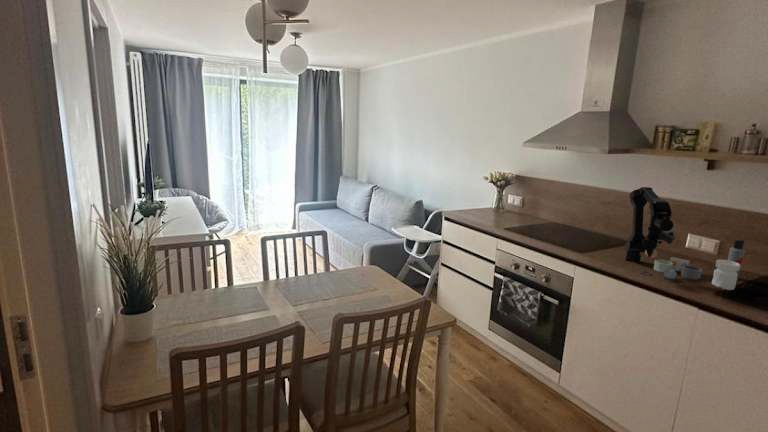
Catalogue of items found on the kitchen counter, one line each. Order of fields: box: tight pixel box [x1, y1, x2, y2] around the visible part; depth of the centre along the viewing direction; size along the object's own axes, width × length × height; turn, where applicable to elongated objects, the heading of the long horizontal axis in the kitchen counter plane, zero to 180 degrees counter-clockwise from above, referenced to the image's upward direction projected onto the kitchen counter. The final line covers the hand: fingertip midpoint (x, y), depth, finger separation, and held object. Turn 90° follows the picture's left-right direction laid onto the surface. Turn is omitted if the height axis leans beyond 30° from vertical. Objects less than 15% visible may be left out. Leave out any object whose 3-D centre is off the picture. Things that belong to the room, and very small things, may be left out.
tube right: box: [680, 264, 703, 280], centre depth 205 cm, size 8×8×5 cm
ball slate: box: [663, 269, 677, 279], centre depth 201 cm, size 5×5×5 cm
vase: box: [711, 259, 740, 291], centre depth 194 cm, size 9×9×12 cm
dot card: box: [669, 256, 690, 273], centre depth 212 cm, size 8×1×7 cm, turn 47°
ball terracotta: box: [644, 248, 658, 259], centre depth 206 cm, size 5×5×5 cm
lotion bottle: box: [727, 238, 746, 280], centre depth 204 cm, size 6×6×20 cm
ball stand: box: [640, 270, 676, 282], centre depth 205 cm, size 16×6×1 cm, turn 47°
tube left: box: [653, 259, 673, 274], centre depth 213 cm, size 8×8×5 cm
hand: (650, 255), depth 207 cm, fingers closed on ball terracotta, 5 cm apart
